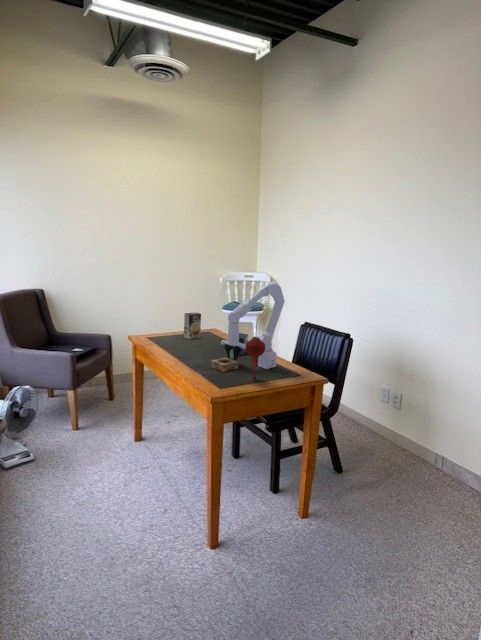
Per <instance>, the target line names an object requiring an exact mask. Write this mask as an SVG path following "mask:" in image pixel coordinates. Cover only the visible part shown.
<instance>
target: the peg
mask: <svg viewBox="0 0 481 640" xmlns="http://www.w3.org/2000/svg"><path fill="white" fill-rule="evenodd" d="M230 359H232V360H234V351H233V349H231V350H230Z"/></svg>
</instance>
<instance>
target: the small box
mask: <svg viewBox="0 0 481 640" xmlns="http://www.w3.org/2000/svg"><path fill="white" fill-rule="evenodd" d="M248 341H249V334H248V333H247V334H246V333H242V332H241V333H240V332H239V342H240V343H242V344H247V342H248ZM233 348H234V346H233ZM233 348H232V349H233ZM246 353H247V351H246V348H244V349H241V351H240V353H239V355H238V356H243V355H244V354H246Z"/></svg>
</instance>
